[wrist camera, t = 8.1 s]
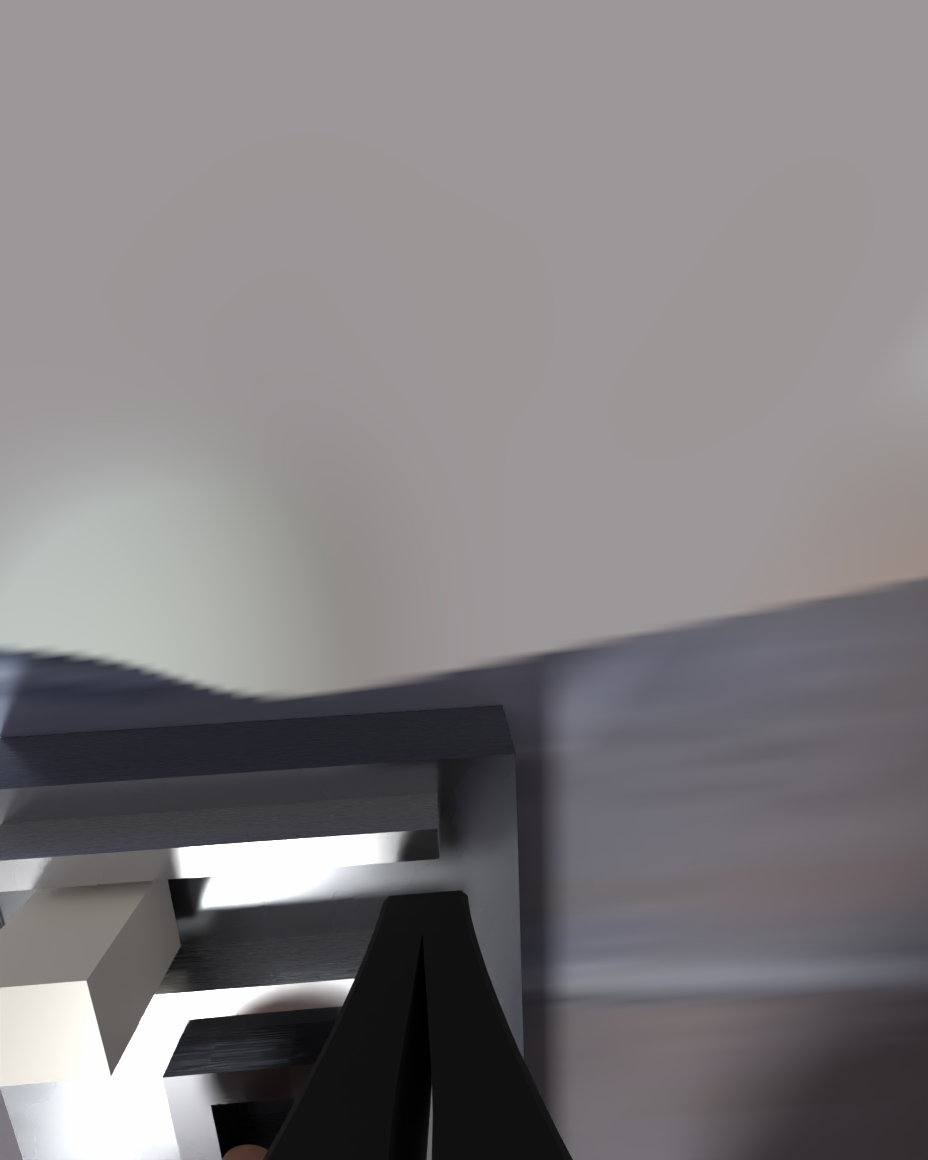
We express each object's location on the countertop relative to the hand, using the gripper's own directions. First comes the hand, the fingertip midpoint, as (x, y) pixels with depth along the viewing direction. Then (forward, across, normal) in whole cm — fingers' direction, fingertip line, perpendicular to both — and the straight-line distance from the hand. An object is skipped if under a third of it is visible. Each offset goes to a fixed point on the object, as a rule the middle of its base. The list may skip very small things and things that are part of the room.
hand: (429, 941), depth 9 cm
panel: (+3, +4, +6) cm, 8 cm away
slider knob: (+1, +6, 0) cm, 6 cm away
